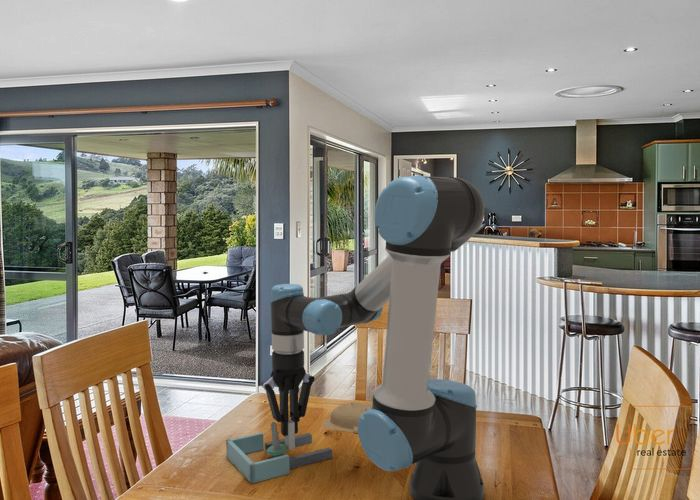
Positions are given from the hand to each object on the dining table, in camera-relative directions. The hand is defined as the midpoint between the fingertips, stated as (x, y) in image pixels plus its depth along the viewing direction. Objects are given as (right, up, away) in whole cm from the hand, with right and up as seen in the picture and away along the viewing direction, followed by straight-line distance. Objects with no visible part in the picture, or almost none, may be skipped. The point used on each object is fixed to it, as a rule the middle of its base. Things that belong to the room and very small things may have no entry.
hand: (289, 447), depth 139 cm
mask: (+21, -1, +19) cm, 29 cm away
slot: (+2, -2, +1) cm, 3 cm away
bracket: (-7, -3, -4) cm, 9 cm away
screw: (-2, -2, -1) cm, 4 cm away
